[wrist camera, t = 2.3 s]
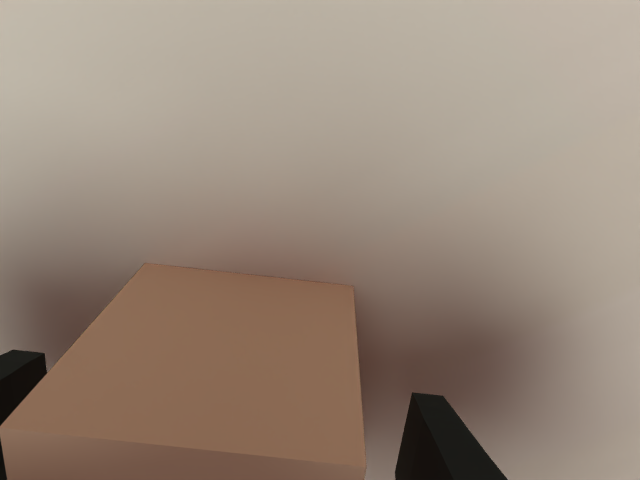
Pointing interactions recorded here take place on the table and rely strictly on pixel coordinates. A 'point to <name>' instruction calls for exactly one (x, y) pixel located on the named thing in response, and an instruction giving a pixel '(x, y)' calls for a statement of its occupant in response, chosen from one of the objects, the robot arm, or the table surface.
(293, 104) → the table surface
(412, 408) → the robot arm
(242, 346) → the light tan block
